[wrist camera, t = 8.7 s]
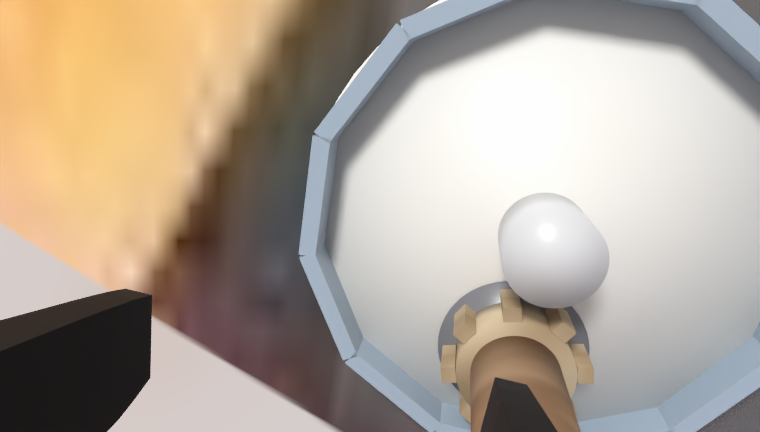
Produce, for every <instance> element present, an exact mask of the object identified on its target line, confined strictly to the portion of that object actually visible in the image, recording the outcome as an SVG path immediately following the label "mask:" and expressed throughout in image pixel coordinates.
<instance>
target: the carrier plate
mask: <svg viewBox="0 0 760 432" xmlns="http://www.w3.org/2000/svg"><path fill="white" fill-rule="evenodd" d="M400 22H401V25H402V26H400V25H398V24H397V23H396V24H395V26H394V27H393V28H392V30H391V31H390V32H389V34H388V35H387V36H386V38H385V39H384V40H383V42H382V43H381V44H380V45H379V46H378V47H377V48H376V49H375V50H374V52H373V53H372V54H371V55H370V56H369V57H368V58H367V60H366V61H365V62H364V63H363V64H362V65H361V67H360V68H359V69H358V70H357V71H356V72H355V74H354V75H353V77H352V78H351V80H350V81H349V83H348V84H347V86H346V87H345V89H344V90H343V92H342V93H341V95H340V96H339V98H338V100H337V101H336V103H335V105H334V106H333V108H332V109H331V110H330V112H329V113H328V114H327V116H326V117H325V118H324V120H323V121H322V122H321V124H320V125H319V126H318V128H317V129H316V130H315V133H316V135H313V137H312V146H311V154H310V163H309V171H308V180H307V188H306V197H305V205H304V214H303V222H302V231H301V239H300V248H299V254H300V255H301V257H300V261H301V263H302V266H303V268H304V270H305V273H306V275H307V277H308V280H309V282H310V284H311V287H312V289H313V291H314V294H315V296H316V298H317V301H318V303H319V305H320V308H321V310H322V312H323V315H324V317H325V319H326V322H327V324H328V326H329V329H330V331H331V333H332V336H333V338H334V341H335V343H336V345H337V348H338V350H339V352H340V355H341V357H342V359H343V360H346V359H347V360H346V362H345V363H346V364H347V365H348V366H349V367H351V368H352V369H353V370H354V371H355V372H357V373H358V374H359V375H360V376H362V377H363V378H364V379H365V380H366V381H368V382H369V383H370V384H371V385H372V386H374V387H375V388H376V389H377V390H379V391H380V392H381V393H382V394H383V395H385V396H386V397H387V398H388V399H390V400H391V401H392V402H393V403H394V404H396V405H397V406H398V407H399V408H401V409H402V410H403V411H404V412H405V413H407V414H408V415H409V416H410V417H412V418H413V419H414V420H415V421H416V422H418V423H419V424H420V425H421V426H423V427H424V428H425V429H426V430H427V431H429V432H434V431H435V432H471V423H470V422H469V421H468V420H466V419H465V418H464V417H463V416H462V415H460V414H459V407H460V390H459V388H458V384H457V381H456V383H442V378H441V358H442V347H443V345H456V349H457V340H458V339H457V338H456V337H455V336H454V335H453V328H454V314H455V313H456V312H457V311H458V310H459V309H460V308H461V307H462V306H463V305H464V304H466V305H467V306H469V307H470V308H471V309H472V310H473V311H475V312H476V313H477V312H478V311H480V310H481V309H483V308H485V307H488V306H491V305H494V304H498V303H501V299H500V289H513V291H514V292H515V293H516V294H517V295H518V296H519V298H520V302H521V303H525V304H528V305H532V306H534V307H537V308H539V309H541V310H543V311H545V310H546V309H547V308H563V309H565V310H566V311H567V312H568V314H569V316H570V319H571V321H572V324H573V326H574V328H575V331H576V333H577V334H575V335H574V336H573V337H572V338H571V339H570V340H569V341H568V344H584V346H585V349H586V351H587V353H588V356H589V358H590V360H591V363H592V365H593V367H594V384H578V383H577V385H576V389H575V392H574V394H573V396H572V401H573V404H574V407H575V410H576V414H577V416H576V418H577V421H578V425H579V428H580V431H581V432H696V431H698V430H699V429H700V428H702V427H703V426H705V425H706V424H708V423H709V422H711V421H712V420H713V419H715V418H716V417H718V416H719V415H721V414H722V413H723V412H725V411H726V410H728V409H729V408H731V407H732V406H734V405H735V404H736V403H738V402H739V401H741V400H742V399H744V398H745V397H747V396H748V395H749V394H751V393H752V392H754V391H755V390H757V389H758V388H759V387H760V26H759V25H758V24H757V23H756V22H755V21H754V20H753V19H752V18H751V17H749V16H748V15H747V14H746V13H745V12H744V11H743V10H742V9H741V8H740V7H739V6H737V5H736V4H735V3H734V2H733V1H732V0H440V1H438V2H436V3H434V4H432V5H431V6H429V7H428V8H426V9H425V10H423V11H421V12H418V13H416V14H414V15H411V16H409V17H407V18H404V19H402V20H400Z"/></svg>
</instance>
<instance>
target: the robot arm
mask: <svg viewBox="0 0 760 432" xmlns="http://www.w3.org/2000/svg"><path fill="white" fill-rule="evenodd" d="M151 312H152V295H149V294H145V293H141V292H136V291H132V290H128V289H122V290H116V291H111V292H106V293H102V294H97V295H94V296H90V297H86V298H82V299H78V300H74V301H70V302H67V303H63V304H59V305H56V306H52V307H48V308H45V309H41V310H38V311H34V312H30V313H26V314H23V315H19V316H16V317H11V318H8V319H4V320H0V432H107V431H108V430H109V429H110V428H111V427H112V426H113V425H114V424H115V423H116V421H117V420H118V419H119V418H120V417H121V416H122V414H123V413H124V412H125V411H126V409H127V408H128V407H129V405H130V404H131V403H132V401H133V400H134V399H135V398H136V396H137V395H138V394H139V392H140V391H141V390H142V388H143V387H144V385H145V384H146V383H147V381H148V380H149V379H150V361H151V360H150V359H151ZM480 432H558V431H557V430H556V428H555V427H554V425H553V424H552V422H551V421H550V419H549V418H548V416H547V414H546V413H545V411H544V410H543V408H542V407H541V405H540V404H539V402H538V401H537V399H536V398H535V396H534V394H533V393H532V391H531V390H530V388H529V387H528V385H527V384H522V383H518V382H514V381H510V380H506V379H501V378H497V377H495V379H494V382H493V386H492V390H491V393H490V397H489V401H488V404H487V408H486V412H485V416H484V419H483V423H482V427H481V430H480Z"/></svg>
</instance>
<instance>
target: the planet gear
mask: <svg viewBox="0 0 760 432" xmlns="http://www.w3.org/2000/svg"><path fill="white" fill-rule="evenodd" d="M500 299H501V303H498V304H494V305H491V306H488V307H485V308H483V309H481V310H480V311H478V312H477V313H476V312H475V311H473V310H472V309H471V308H470V307H469V306H467V305H466V304H464V305H463V306H462V307H461V308H460V309H459V310H458V311H457V312H456V313H455V314H454V328H453V335H454V336H455V337H456V338H457V339H458V340H457V349H456V345H443V347H442V358H441V378H442V383H456V381H457V384H458V388H459V390H460V407H459V414H460V415H462V416H463V417H464V418H465V419H466V420H468V421H469V422H470V423H471V432H480V430H481V427H482V423H483V419H484V416H485V412H486V408H487V404H488V401H489V397H490V393H491V390H492V386H493V382H494V379H495V377H497V378H501V379H506V380H510V381H514V382H518V383H522V384H527V385H528V387H529V388H530V390H531V391H532V393H533V394H534V396H535V398H536V399H537V401H538V402H539V404H540V405H541V407H542V408H543V410H544V411H545V413H546V414H547V416H548V418H549V419H550V421H551V422H552V424H553V425H554V427H555V428H556V430H557V431H558V432H581V431H580V428H579V425H578V421H577V418H576V416H577V414H576V410H575V407H574V404H573V401H572V396H573V394H574V392H575V389H576V385H577V383H578V384H594V367H593V365H592V363H591V360H590V358H589V356H588V353H587V351H586V349H585V346H584V344H568V341H569V340H570V339H571V338H572V337H573V336H574V335H575V334H577V333H576V331H575V328H574V326H573V324H572V321H571V319H570V316H569V314H568V312H567V311H566V310H565V309H563V308H547V309H546V310H545V311H543V310H541V309H539V308H537V307H534V306H532V305H528V304H525V303H521V302H520V298H519V296H518V295H517V294H516V293H515V292H514V291H513V289H500Z"/></svg>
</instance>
